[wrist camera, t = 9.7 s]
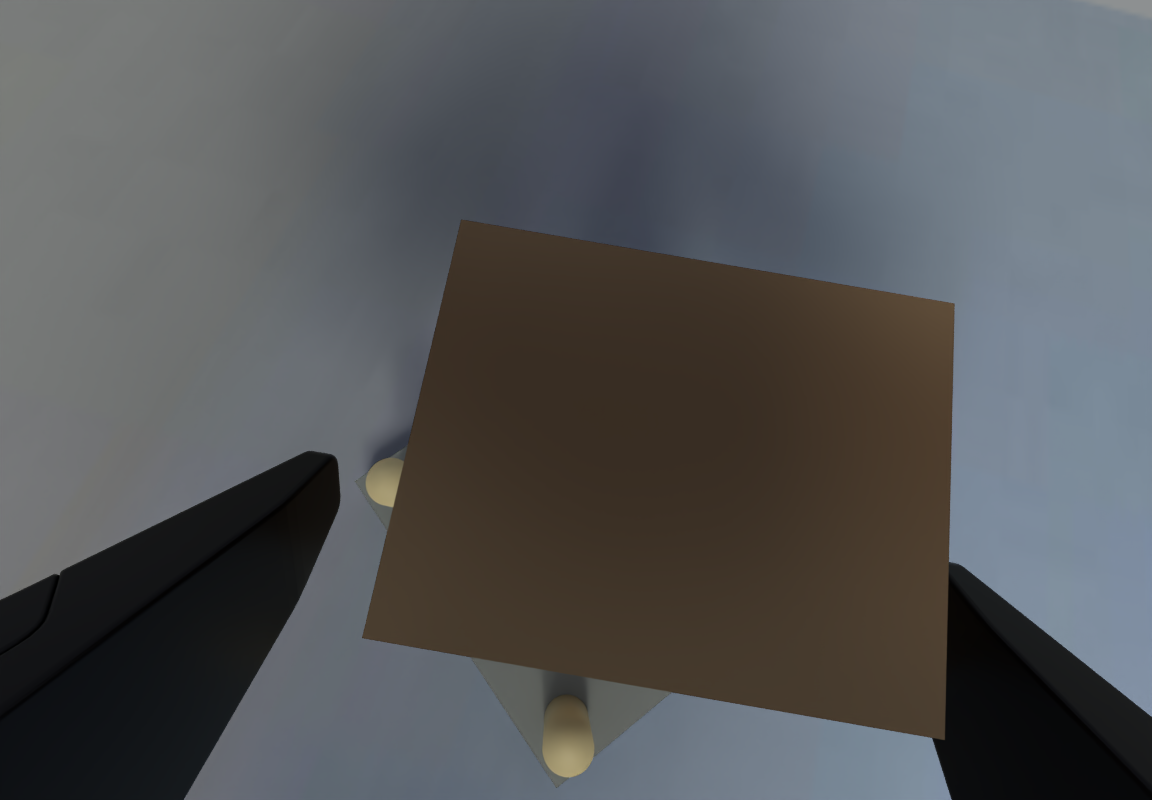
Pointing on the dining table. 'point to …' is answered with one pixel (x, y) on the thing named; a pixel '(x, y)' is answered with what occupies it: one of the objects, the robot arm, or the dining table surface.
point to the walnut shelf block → (680, 481)
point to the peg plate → (540, 680)
